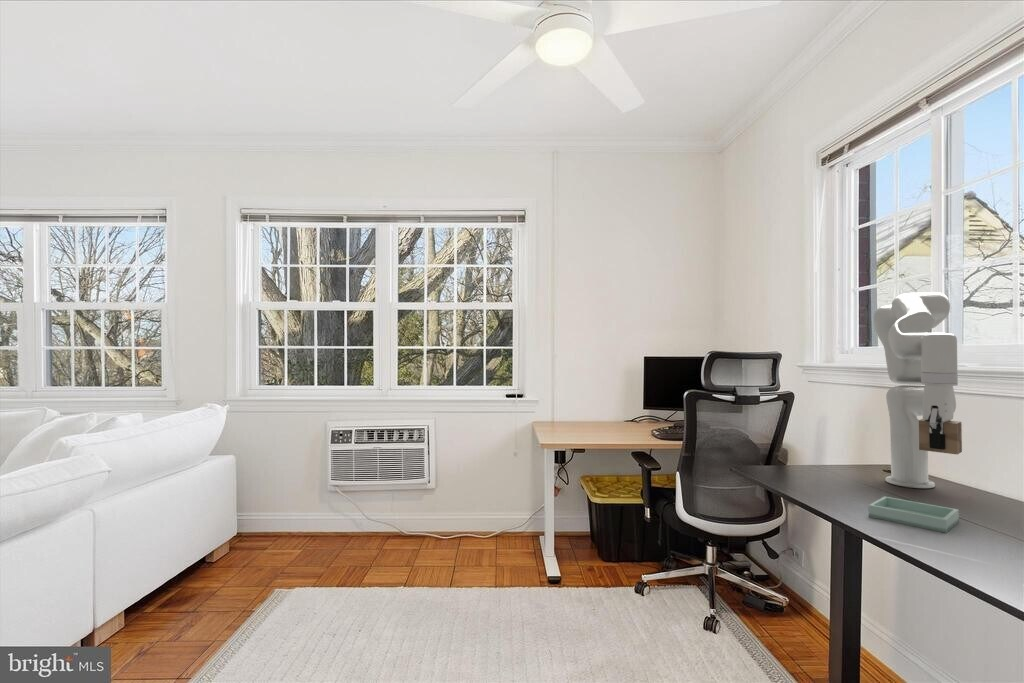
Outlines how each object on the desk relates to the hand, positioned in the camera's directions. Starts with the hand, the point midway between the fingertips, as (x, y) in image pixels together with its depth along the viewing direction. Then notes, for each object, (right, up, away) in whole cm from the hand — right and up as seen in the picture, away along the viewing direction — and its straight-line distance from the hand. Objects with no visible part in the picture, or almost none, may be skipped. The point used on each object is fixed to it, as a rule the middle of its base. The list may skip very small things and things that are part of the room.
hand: (940, 446), depth 139 cm
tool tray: (-13, -17, -7) cm, 22 cm away
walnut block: (0, -1, 0) cm, 1 cm away
